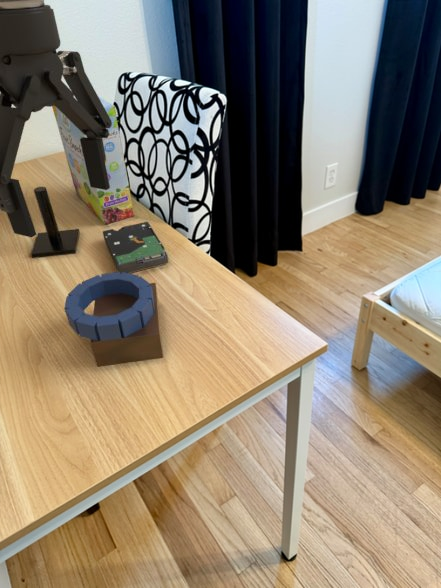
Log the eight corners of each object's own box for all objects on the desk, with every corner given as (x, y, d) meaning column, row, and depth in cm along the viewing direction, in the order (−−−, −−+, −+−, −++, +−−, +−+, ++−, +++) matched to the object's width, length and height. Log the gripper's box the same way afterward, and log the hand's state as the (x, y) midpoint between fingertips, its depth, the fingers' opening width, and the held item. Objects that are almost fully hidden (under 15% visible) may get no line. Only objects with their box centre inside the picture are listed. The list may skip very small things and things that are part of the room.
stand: (97, 366, 65) (90, 342, 62) (101, 312, 75) (95, 289, 72) (163, 357, 66) (159, 333, 63) (159, 305, 76) (155, 282, 73)
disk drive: (103, 242, 94) (119, 276, 83) (101, 231, 93) (116, 264, 82) (149, 231, 97) (170, 263, 86) (147, 220, 96) (168, 251, 85)
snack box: (72, 194, 114) (45, 90, 98) (103, 186, 118) (82, 84, 102) (102, 226, 100) (76, 110, 84) (136, 216, 103) (118, 102, 87)
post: (31, 258, 90) (11, 200, 82) (39, 236, 97) (21, 182, 89) (75, 253, 91) (60, 196, 83) (79, 232, 98) (65, 178, 90)
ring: (65, 346, 61) (59, 330, 60) (74, 292, 72) (70, 277, 70) (156, 334, 63) (153, 318, 61) (152, 282, 73) (150, 268, 71)
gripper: (-88, 19, 30) (10, 266, 43) (120, -6, 48) (146, 176, 61) (-151, 17, 33) (-41, 251, 46) (68, -5, 51) (103, 168, 64)
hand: (66, 208), depth 54 cm, fingers open, 13 cm apart
